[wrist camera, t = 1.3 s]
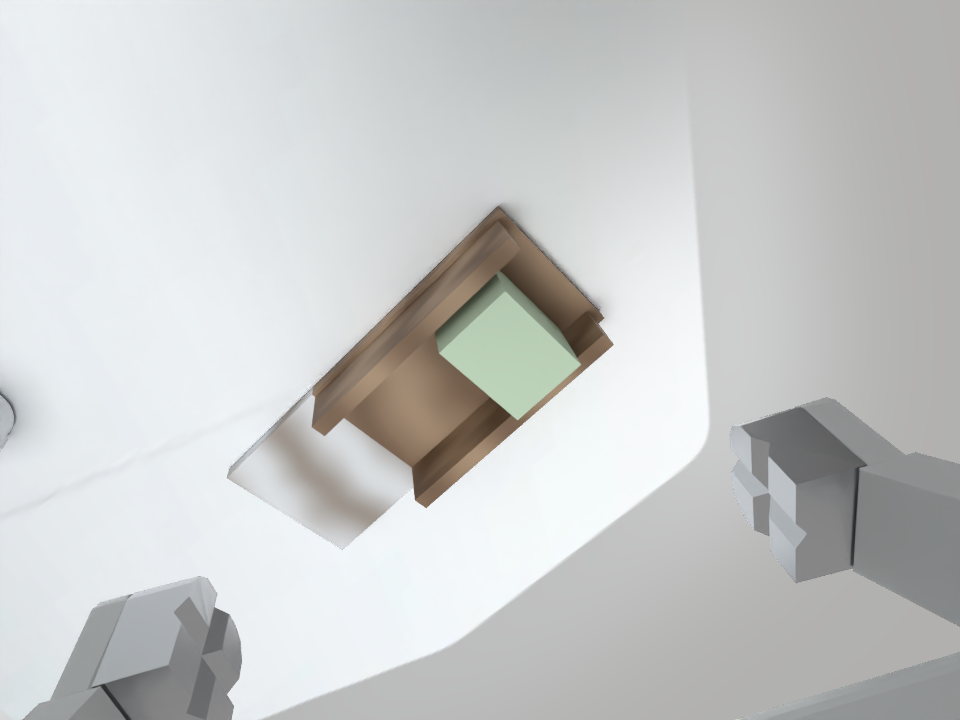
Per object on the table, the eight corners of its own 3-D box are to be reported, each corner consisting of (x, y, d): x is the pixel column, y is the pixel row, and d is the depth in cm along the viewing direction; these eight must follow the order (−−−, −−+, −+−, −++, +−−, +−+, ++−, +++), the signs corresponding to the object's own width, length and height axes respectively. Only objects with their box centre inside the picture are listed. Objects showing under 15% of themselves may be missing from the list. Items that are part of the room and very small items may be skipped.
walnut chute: (498, 206, 40) (512, 228, 36) (599, 311, 44) (622, 341, 40) (229, 468, 46) (216, 512, 42) (342, 540, 50) (341, 586, 46)
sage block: (489, 260, 40) (505, 291, 36) (559, 328, 43) (581, 364, 39) (430, 316, 42) (439, 353, 37) (502, 379, 44) (517, 420, 40)
